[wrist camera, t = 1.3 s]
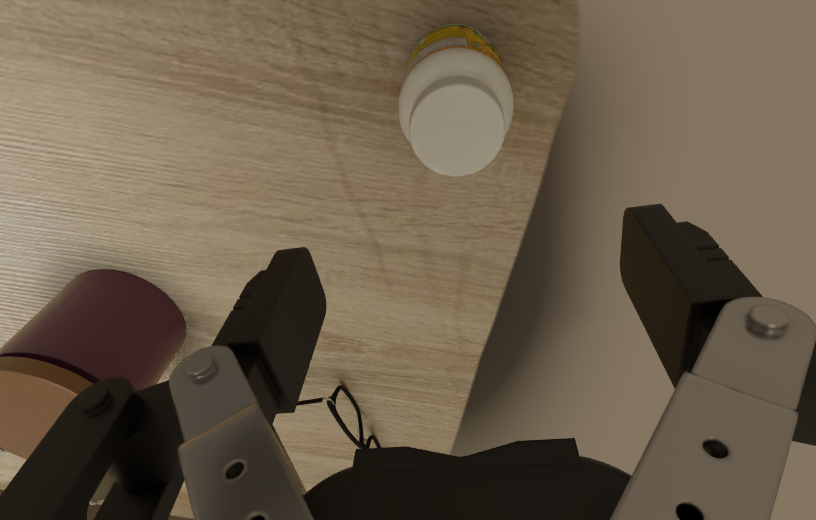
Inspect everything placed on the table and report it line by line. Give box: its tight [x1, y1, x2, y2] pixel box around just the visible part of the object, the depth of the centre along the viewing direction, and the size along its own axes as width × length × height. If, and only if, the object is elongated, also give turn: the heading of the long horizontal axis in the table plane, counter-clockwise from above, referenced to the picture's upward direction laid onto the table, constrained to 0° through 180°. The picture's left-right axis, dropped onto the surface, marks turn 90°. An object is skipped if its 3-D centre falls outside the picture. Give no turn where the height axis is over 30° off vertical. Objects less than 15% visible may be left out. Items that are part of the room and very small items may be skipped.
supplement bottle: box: [398, 24, 514, 176], centre depth 24 cm, size 5×5×10 cm
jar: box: [0, 270, 186, 459], centre depth 36 cm, size 11×11×11 cm
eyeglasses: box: [296, 385, 381, 449], centre depth 47 cm, size 16×16×4 cm
